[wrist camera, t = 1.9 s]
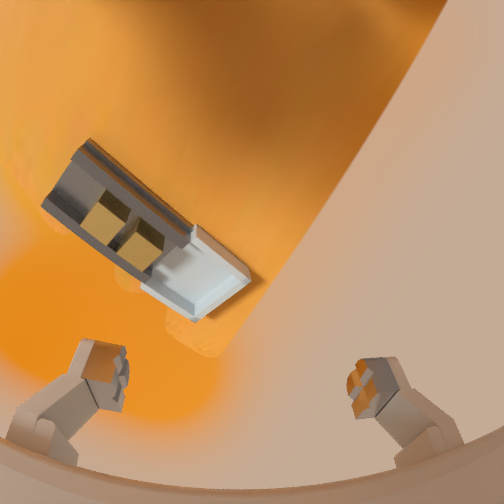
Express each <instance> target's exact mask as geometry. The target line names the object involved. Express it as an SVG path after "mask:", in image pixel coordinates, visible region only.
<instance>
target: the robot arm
mask: <svg viewBox="0 0 504 504" xmlns="http://www.w3.org/2000/svg"><path fill="white" fill-rule="evenodd" d="M125 356H126V348H125V346H122V345H116V344H111V343H106V342H101V341H96V340H91V339H87V338H83V339H82V340H81V341H80V343H79V345H78V347H77V350H76V352H75V355H74V357H73V360H72V362H71V365H70V367H69V370H68V372H67V375H66V374H62V375H61V376H59V377H58V378H56V379H55V380H54V381H52V382H51V383H50V384H48V385H47V386H46V387H44V388H43V389H41V390H40V391H39V392H37V393H36V394H35V395H33V396H32V397H30V398H29V399H28V400H26V401H25V402H24V403H22V404H21V405H20V406H18V407H17V409H16V411H15V414H14V416H13V419H12V421H11V424H10V427H9V430H8V433H7V436H6V439H3V438H1V437H0V504H504V426H502V427H500V428H499V429H497V430H495V431H493V432H491V433H489V434H487V435H485V436H482V437H480V438H478V439H476V440H474V441H471V442H469V443H467V444H464V442H463V440H462V437H461V435H460V433H459V430H458V428H457V426H456V423H455V421H454V419H453V418H451V417H450V416H449V415H447V414H446V413H445V412H444V411H442V410H441V409H440V408H438V407H437V406H436V405H435V404H433V403H432V402H430V400H428V399H427V398H426V397H424V396H423V395H422V394H421V393H419V392H418V391H417V390H416V389H411V387H410V385H409V382H408V380H407V378H406V376H405V374H404V372H403V369H402V367H401V365H400V363H399V361H398V359H397V358H396V357H384V358H382V357H380V358H365V359H360V360H358V361H357V363H356V365H355V366H356V369H355V370H354V371H352V372H351V373H350V375H349V377H348V379H347V392H348V395H349V396H350V397H351V398H352V399H353V400H354V401H353V403H352V408H353V412H354V415H355V418H356V419H365V418H374V417H375V419H376V420H377V421H378V422H379V424H380V425H381V426H382V427H383V428H384V429H385V430H386V431H387V432H388V433H389V434H390V435H391V436H392V437H393V439H395V441H396V442H397V443H398V444H399V445H400V446H401V447H402V448H403V450H401V451H400V452H399V453H398V454H396V455H395V457H394V460H395V464H396V467H397V468H396V469H392V470H388V471H385V472H381V473H376V474H372V475H368V476H363V477H359V478H353V479H348V480H343V481H337V482H331V483H324V484H318V485H309V486H300V487H288V488H275V489H245V490H244V489H243V490H238V489H236V490H235V489H231V490H230V489H204V488H191V487H180V486H170V485H162V484H155V483H149V482H143V481H137V480H131V479H126V478H122V477H117V476H112V475H108V474H104V473H99V472H96V471H91V470H88V469H84V468H81V467H77V466H76V465H77V460H78V455H79V454H78V453H77V451H76V450H75V449H74V447H73V446H72V445H71V444H70V443H69V442H68V440H69V439H70V438H71V437H72V436H73V435H74V434H75V433H76V432H77V431H78V430H79V429H80V428H81V427H82V426H83V425H84V424H85V423H86V422H87V421H88V420H89V419H90V418H91V417H92V416H93V415H94V414H95V413H96V412H97V411H98V408H99V409H105V410H110V411H116V412H122V407H123V403H124V398H125V396H124V393H123V389H124V388H126V387H127V385H128V380H129V362H128V360H127V359H126V358H125Z"/></svg>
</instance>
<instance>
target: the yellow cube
mask: <svg viewBox="0 0 504 504" xmlns="http://www.w3.org/2000/svg"><path fill="white" fill-rule="evenodd" d="M164 241H165V236H164V235H163V234H161V233H160V232H159V231H157V230H156V229H155V228H154V227H152V226H151V225H150V224H149V223H147V222H146V221H145V220H144V219H142V218H141V217H140V218H139V219H138V220H137V221H136V222H135V223H134V224H133V225H132V227H131V228H130V229H129V230H128V231H127V232H126V233H125V234H124V235H123V237H122V238H121V241H120V244H119V247H118V250H117V252H116V254H118V255H119V256H120V257H122V258H123V259H125V260H126V261H127V262H129V263H130V264H132V265H133V266H134V267H136V268H137V269H139V270H140V271H141V272H143V271H144V270H145V269H146V268H147V267H148V266H149V265H150V264H151V263H152V262H153V261H154V260H155V259H156V258H157V257H158V256H159V255H161V254H162V253H163V248H164Z"/></svg>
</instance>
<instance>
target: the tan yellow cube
mask: <svg viewBox="0 0 504 504" xmlns="http://www.w3.org/2000/svg"><path fill="white" fill-rule="evenodd" d="M130 211H131V209H130V208H129V207H127V206H126V205H125V204H124V203H123V202H121V201H120V200H119V199H118V198H116V197H115V196H114V195H113V194H112V193H110V192H109V191H108V190H107V189H105V191H104V192H103V193H102V194H101V196H100V197H99V198H98V199H97V201H96V202H95V203H94V205H93V206H92V207H91V209H90V210H89V211H88V213H87V214H86V216H85V218H84V219H83V221H82V223H81V224H80V226H81V227H82V228H83V229H84V230H86V231H87V232H88V233H90V234H91V235H92V236H94V237H95V238H96V239H98V240H99V241H100V242H101V243H103V244H104V245H105V246H107V245H108V243H109V242H110V241H111V240H112V239H113V238H114V236H115V235H116V234H117V233H118V232H119V231H120V230H121V228H122V227H123V226H124V225H125V224H126V222H127V219H128V216H129V214H130Z"/></svg>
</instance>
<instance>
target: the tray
mask: <svg viewBox="0 0 504 504" xmlns="http://www.w3.org/2000/svg"><path fill="white" fill-rule="evenodd" d="M251 281H252V280H251V276H250V272H249V267H248V266H246V265H245V264H244V263H243V262H242V261H240V260H239V259H238V258H237V257H236V256H234V255H233V254H232V253H231V252H230V251H228V250H227V249H226V248H225V247H224V246H222V245H221V244H220V243H219V242H218V241H216V240H215V239H214V238H213V237H212V236H210V235H209V234H208V233H207V232H206V231H204V230H203V229H202V228H201V227H200V226H198V225H197V224H195V225H194V228H193V231H192V232H191V238H190V243H189V244H187V245H186V246H185V247H184V248H183V249H181V248H179V247H178V246H176V247H175V248H174V249H173V250H171V251H170V252H169V253H168V254H167V255H166V256H165V257H164V258H163V259H162V260H161V261H160V262H159V263H158V264H157V265H155V266H154V267H153V270H152V276H151V278H150V279H149V280H148V281H147V282H146V283H145V284H144V283H142V282H141V286H140V288H141V289H142V290H144V291H145V292H147V293H148V294H150V295H152V296H153V297H154V298H156V299H158V300H159V301H161V302H162V303H164V304H165V305H167V306H168V307H170V308H172V309H173V310H175V311H176V312H178V313H180V314H181V315H183V316H185V317H186V318H188V319H189V320H191V321H193V322H194V323H196V322H197V321H198V320H200V319H201V318H203V317H204V316H205V315H207V314H208V313H209V312H211V311H212V310H213V309H215V308H216V307H218V306H219V305H220V304H222V303H223V302H224V301H226V300H227V299H228V298H230V297H231V296H232V295H234V294H235V293H237V292H238V291H239V290H241V289H242V288H243V287H245V286H246V285H247V284H249V283H250V282H251Z"/></svg>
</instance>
